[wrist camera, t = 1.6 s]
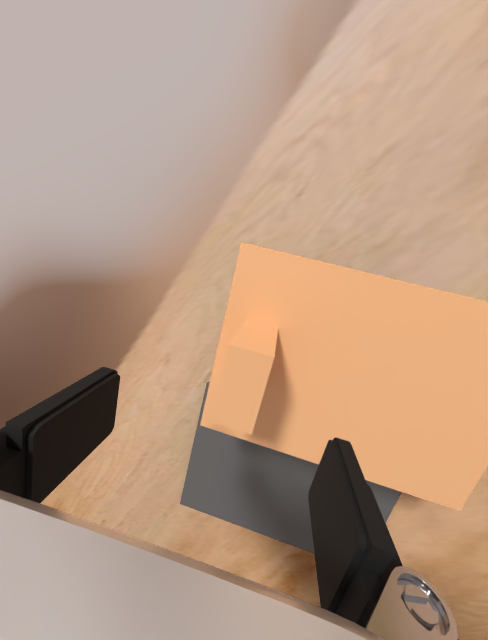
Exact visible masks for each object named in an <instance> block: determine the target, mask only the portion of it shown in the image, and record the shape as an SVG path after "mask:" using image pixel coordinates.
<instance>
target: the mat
mask: <svg viewBox="0 0 488 640" xmlns="http://www.w3.org/2000/svg"><path fill="white" fill-rule="evenodd" d="M209 384H210V382H207V385H206V389H205V394H204V398H203V403H202V407H201V412H200V416H199V421H198V425H197V430H196V434H195V439H194V443H193V448H192V452H191V457H190V461H189V466H188V470H187V475H186V479H185V484H184V488H183V493H182V497H181V502H180V504H182V505H185V506H187V507H190V508H193V509H196V510H198V511H201V512H204V513H206V514H209V515H212V516H214V517H217V518H220V519H223V520H225V521H228V522H231V523H233V524H236V525H239V526H241V527H244V528H247V529H250V530H252V531H255V532H258V533H260V534H263V535H266V536H268V537H271V538H274V539H277V540H279V541H282V542H285V543H287V544H290V545H293V546H295V547H298V548H301V549H304V550H306V551H309V552H312V553H314V554H315V552H314V544H313V535H312V527H311V518H310V510H309V502H308V494H309V489H310V486H311V484H312V481H313V479H314V476H315V474H316V471H317V468H318V466H319V464H316V463H313V462H310V461H307V460H304V459H301V458H298V457H295V456H292V455H289V454H286V453H283V452H279V451H276V450H273V449H270V448H267V447H264V446H261V445H258V444H255V443H252V442H249V441H246V440H243V439H240V438H237V437H234V436H231V435H228V434H225V433H222V432H219V431H216V430H213V429H210V428H207V427H204V426H201V425H200V424H201V419H202V415H203V410H204V406H205V401H206V397H207V392H208V388H209ZM366 483H367V484H368V485H369V486H370V488H371V489H372V492H373V494H374V497H375V499H376V502H377V504H378V506H379V509H380V511H381V514H382V516H383V519H384V521H385V523H386V521H387V519H388V517H389V515H390V513H391V511H392V509H393V507H394V505H395V503H396V502H397V500H398V498H399V496H400V494H401V492H400V491H397V490H394V489H391V488H388V487H385V486H382V485H379V484H376V483H373V482H370V481H367V480H366Z"/></svg>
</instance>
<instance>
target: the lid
mask: <svg viewBox="0 0 488 640" xmlns="http://www.w3.org/2000/svg"><path fill="white" fill-rule="evenodd" d="M200 425H201V426H204V427H207V428H210V429H213V430H216V431H219V432H222V433H225V434H228V435H231V436H234V437H237V438H240V439H243V440H246V441H249V442H252V443H255V444H258V445H261V446H264V447H267V448H270V449H273V450H276V451H279V452H283V453H286V454H289V455H292V456H295V457H298V458H301V459H304V460H307V461H310V462H313V463H316V464H319V463H320V461H321V458H322V456H323V453H324V451H325V448H326V445H327V443H328V441H329V440H333V439H334V438H335V437H336V438H340V439H343V440H346V441H349V442H350V443H351V445H352V447H353V450H354V452H355V455H356V458H357V460H358V463H359V465H360V468H361V470H362V473H363V475H364V478H365V480H367V481H370V482H373V483H376V484H379V485H382V486H385V487H388V488H391V489H394V490H397V491H400V492H403V493H406V494H409V495H412V496H415V497H418V498H422V499H425V500H428V501H431V502H434V503H437V504H440V505H443V506H446V507H449V508H452V509H455V510H458V511H460V510H461V509H462V507H463V505H464V504H465V502H466V500H467V499H468V497H469V496H470V494H471V492H472V491H473V489H474V487H475V486H476V484H477V483H478V481H479V479H480V478H481V476H482V475H483V473H484V471H485V470H486V468H487V466H488V302H487V301H483V300H479V299H475V298H471V297H467V296H463V295H458V294H454V293H450V292H446V291H442V290H438V289H434V288H429V287H425V286H421V285H417V284H413V283H409V282H405V281H401V280H396V279H392V278H388V277H384V276H380V275H376V274H372V273H367V272H363V271H359V270H355V269H351V268H347V267H343V266H338V265H334V264H330V263H326V262H322V261H318V260H314V259H310V258H305V257H301V256H297V255H293V254H289V253H285V252H281V251H276V250H272V249H268V248H264V247H260V246H256V245H252V244H248V243H243V242H241V246H240V250H239V255H238V259H237V263H236V268H235V272H234V277H233V281H232V286H231V290H230V295H229V299H228V303H227V308H226V312H225V317H224V321H223V326H222V330H221V335H220V339H219V344H218V348H217V352H216V357H215V361H214V366H213V370H212V375H211V379H210V384H209V388H208V392H207V397H206V401H205V406H204V410H203V415H202V419H201V424H200Z"/></svg>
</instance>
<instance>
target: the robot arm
mask: <svg viewBox="0 0 488 640" xmlns="http://www.w3.org/2000/svg"><path fill="white" fill-rule="evenodd" d="M119 382H120V376H119V375H118V373H117V371H116V370H113V369H109V368H106V367H102V368H100V369H98V370H96V371H95V372H93V373H91V374H90V375H88V376H86V377H84V378H82V379H81V380H79V381H78V382H75V383H74V384H72V385H71V386H68V387H67V388H65V389H63V390H61V391H60V392H58V393H56V394H55V395H53V396H51V397H49V398H48V399H46V400H44V401H42V402H40V403H39V404H37V405H35V406H33V407H32V408H30V409H29V410H26V411H25V412H23V413H21V414H19V415H18V416H16V417H14V418H12V419H11V420H9V421H7V422H6V426H5V427H3V428H2V429H0V640H459V639H458V630H457V624H456V621H455V619H454V616H453V613H452V612H451V610H450V608H449V606H448V604H447V602H446V601H445V600H444V598H443V597H442V596H441V594H440V593H439V592H438V590H437V589H436V588H435V587H434V586H433V585H432V584H431V583H430V582H429V581H428V580H427V579H426V578H424V577H423V576H422V575H421V574H419V573H418V572H416V571H414V570H413V569H411V568H408V567H404V566H402V563H401V561H400V558H399V556H398V553H397V551H396V548H395V546H394V543H393V541H392V539H391V536H390V534H389V531H388V529H387V526H386V524H385V521H384V519H383V516H382V514H381V511H380V509H379V506H378V504H377V502H376V499H375V497H374V494H373V492H372V489H371V488H370V486H369V485H368V484H367V483H366V480H365V478H364V475H363V473H362V470H361V468H360V465H359V463H358V460H357V458H356V455H355V452H354V450H353V447H352V445H351V443H350V442H349V441H346V440H343V439H340V438H336V437H335V438H334V439H333V440H329V441H328V443H327V445H326V448H325V451H324V453H323V456H322V458H321V461H320V463H319V466H318V468H317V471H316V474H315V476H314V479H313V481H312V484H311V486H310V489H309V494H308V502H309V510H310V518H311V527H312V535H313V544H314V552H315V561H316V569H317V578H318V586H319V594H320V603H321V608H320V607H318V606H315V605H313V604H310V603H308V602H305V601H303V600H300V599H298V598H295V597H293V596H290V595H288V594H285V593H283V592H280V591H278V590H275V589H272V588H270V587H267V586H264V585H262V584H259V583H256V582H254V581H251V580H248V579H246V578H243V577H240V576H238V575H235V574H232V573H229V572H227V571H224V570H221V569H219V568H216V567H213V566H211V565H208V564H205V563H203V562H200V561H197V560H195V559H192V558H189V557H186V556H184V555H181V554H178V553H176V552H173V551H170V550H167V549H165V548H162V547H159V546H156V545H154V544H151V543H148V542H145V541H143V540H140V539H137V538H134V537H132V536H129V535H126V534H124V533H121V532H118V531H115V530H113V529H110V528H107V527H104V526H101V525H99V524H96V523H93V522H90V521H87V520H85V519H82V518H79V517H76V516H73V515H71V514H68V513H65V512H62V511H59V510H57V509H54V508H51V507H48V506H46V505H43V504H40V503H41V502H42V501H43V500H44V499H45V498H46V497H47V496H48V495H49V494H50V493H51V492H52V491H53V490H54V489H55V488H56V487H57V486H58V485H59V484H60V483H61V482H62V481H63V480H64V479H65V478H66V477H67V476H68V475H69V474H70V473H71V472H72V471H73V470H74V469H75V468H76V467H77V466H78V465H79V464H80V463H81V462H82V461H83V460H84V459H85V458H86V457H87V456H88V455H89V454H90V453H91V452H92V451H93V450H94V449H95V448H96V447H97V446H98V445H99V444H100V443H101V442H102V441H103V440H104V439H105V438H106V437H107V436H108V435H109V434H110V433H111V432H112V430H113V428H114V423H115V415H116V407H117V399H118V390H119Z"/></svg>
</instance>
